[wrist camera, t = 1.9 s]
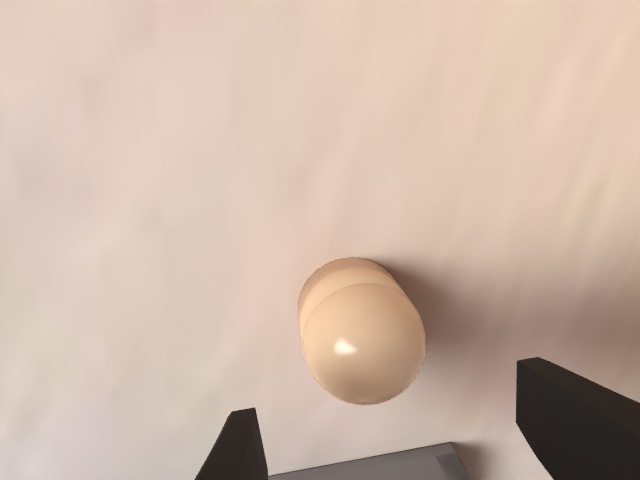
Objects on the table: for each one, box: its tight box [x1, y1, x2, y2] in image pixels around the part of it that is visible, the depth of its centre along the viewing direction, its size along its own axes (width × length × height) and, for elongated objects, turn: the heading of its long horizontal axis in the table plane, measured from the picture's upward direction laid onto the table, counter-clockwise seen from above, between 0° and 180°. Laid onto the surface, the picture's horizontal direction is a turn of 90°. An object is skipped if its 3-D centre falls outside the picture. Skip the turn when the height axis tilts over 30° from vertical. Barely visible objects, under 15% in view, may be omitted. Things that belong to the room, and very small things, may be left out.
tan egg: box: [298, 258, 426, 405], centre depth 16 cm, size 4×4×5 cm
